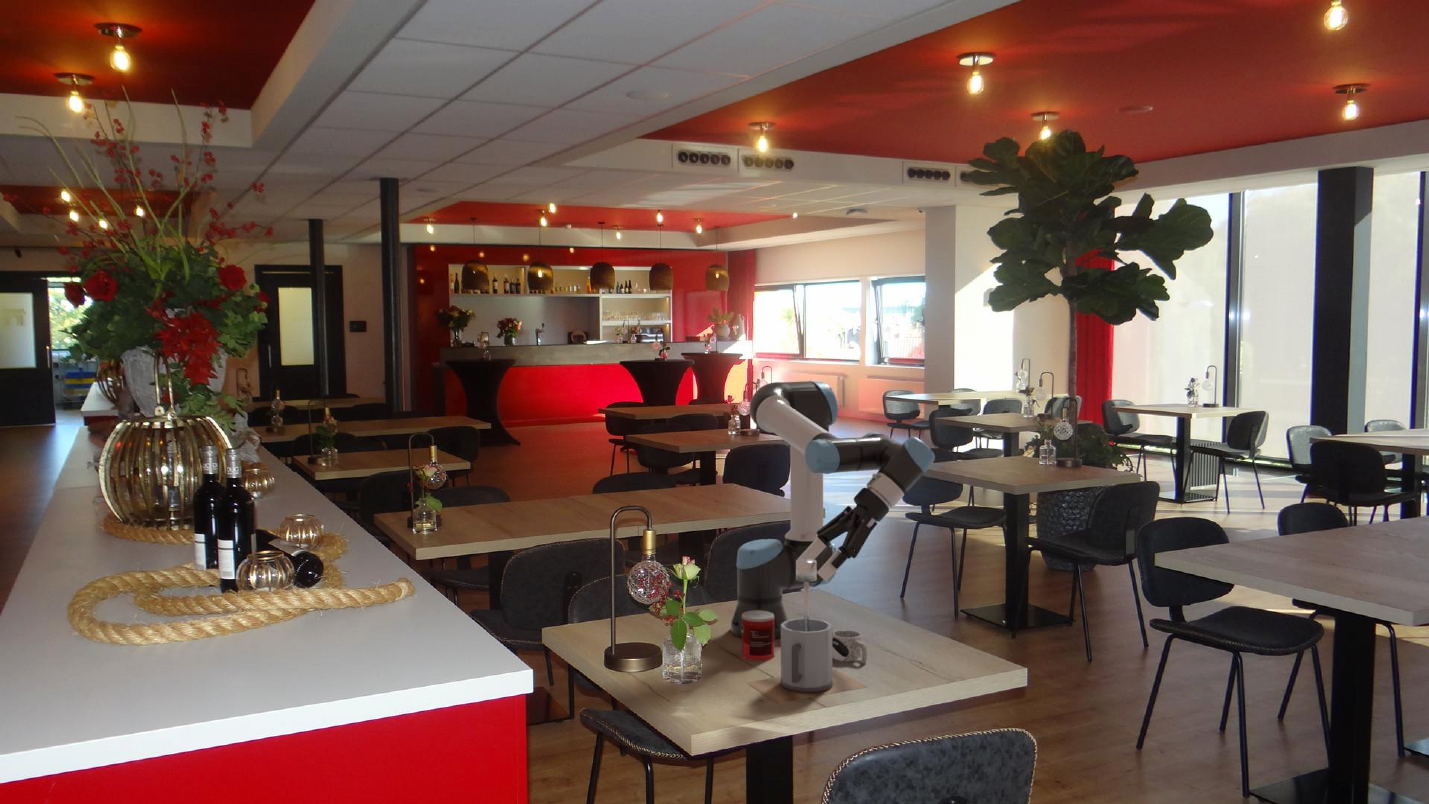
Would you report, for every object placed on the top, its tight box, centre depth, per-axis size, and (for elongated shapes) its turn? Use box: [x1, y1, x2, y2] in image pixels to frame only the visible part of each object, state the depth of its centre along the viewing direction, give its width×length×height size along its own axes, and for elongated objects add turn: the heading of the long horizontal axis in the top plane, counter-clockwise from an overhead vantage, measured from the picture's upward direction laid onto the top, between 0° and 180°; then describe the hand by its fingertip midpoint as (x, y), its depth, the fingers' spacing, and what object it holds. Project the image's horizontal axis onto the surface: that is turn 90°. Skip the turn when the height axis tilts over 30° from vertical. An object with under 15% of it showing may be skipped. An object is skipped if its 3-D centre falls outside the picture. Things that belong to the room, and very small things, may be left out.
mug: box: [832, 629, 868, 665], centre depth 233 cm, size 10×7×7 cm
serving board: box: [746, 667, 868, 704], centre depth 215 cm, size 22×14×1 cm, turn 115°
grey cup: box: [780, 617, 833, 694], centre depth 214 cm, size 11×14×13 cm
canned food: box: [741, 610, 775, 662], centre depth 236 cm, size 8×8×11 cm
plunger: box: [796, 559, 817, 632], centre depth 214 cm, size 8×8×18 cm
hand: (811, 570), depth 214 cm, fingers open, 13 cm apart
